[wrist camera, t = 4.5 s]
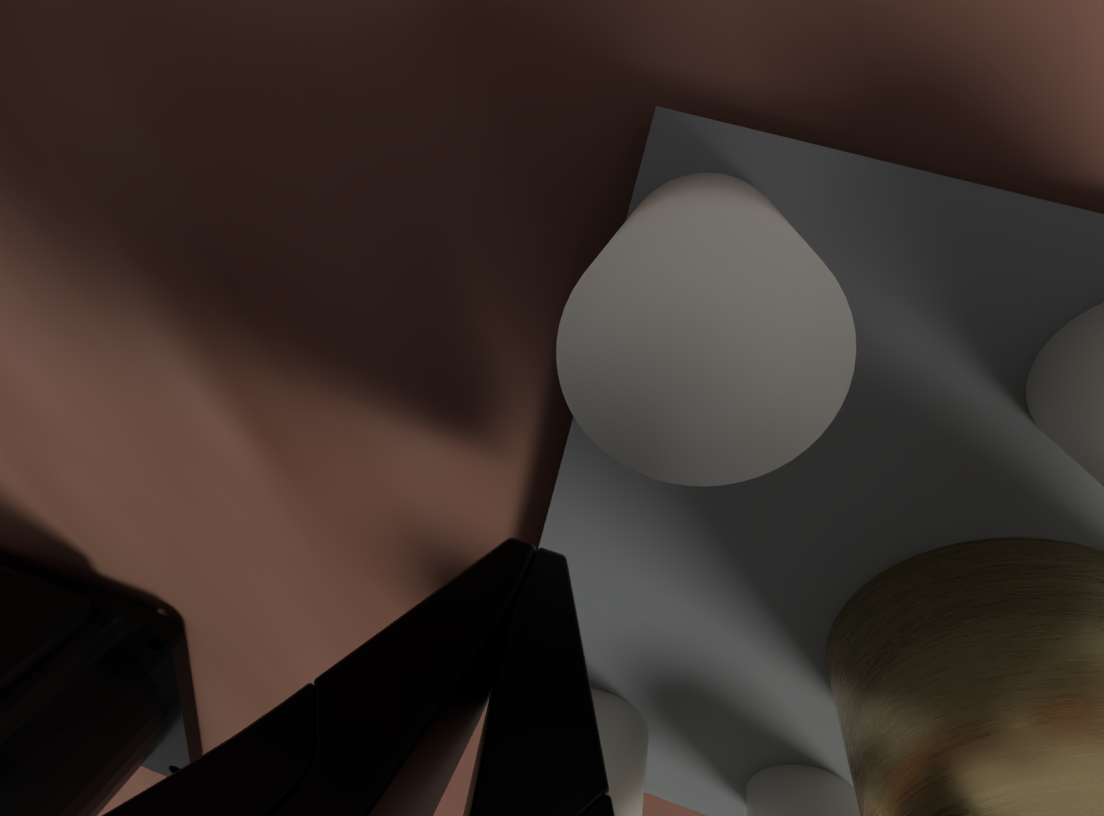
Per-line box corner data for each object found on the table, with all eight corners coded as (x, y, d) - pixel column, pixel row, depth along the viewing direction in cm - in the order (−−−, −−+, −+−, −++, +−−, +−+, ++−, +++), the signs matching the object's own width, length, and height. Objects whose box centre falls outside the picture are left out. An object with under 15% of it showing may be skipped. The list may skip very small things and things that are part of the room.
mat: (1183, 971, 11) (1199, 999, 11) (494, 716, 12) (488, 734, 12) (2136, 464, 5) (2237, 488, 5) (658, 107, 7) (656, 105, 6)
